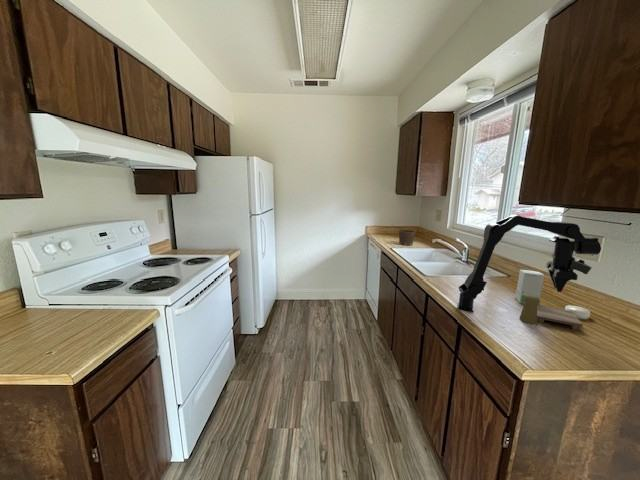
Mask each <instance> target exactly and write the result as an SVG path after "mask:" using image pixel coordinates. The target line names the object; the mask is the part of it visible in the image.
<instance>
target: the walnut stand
mask: <svg viewBox="0 0 640 480" xmlns="http://www.w3.org/2000/svg"><path fill="white" fill-rule="evenodd" d="M580 320H581V319H579V318H577V317H576V315H575V314H574V313H573V312H572V311H568V310H565V309H562V308H557V307H556V308H555V307H550V306H546V305H545V306H544V305H540V304H539V305H537V324H538V323H539V324H545V323H544V322H545V321H550V322H555V323H560V324H565V325H570V328H571V330H573V331H578V332H579V331H580V329H581V328H583V326H584V325H583V323H582V322H581V321H580Z"/></svg>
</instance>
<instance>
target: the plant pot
mask: <svg viewBox="0 0 640 480" xmlns="http://www.w3.org/2000/svg"><path fill="white" fill-rule="evenodd" d="M397 231H398V238H399V241H398V242H399V245H400V246H405V247H412V246H413V243H414V239H415V235H416V232H417V231H415V230H412V229H411V230H410V229H398V230H397Z"/></svg>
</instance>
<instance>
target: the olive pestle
mask: <svg viewBox="0 0 640 480" xmlns="http://www.w3.org/2000/svg"><path fill="white" fill-rule="evenodd" d="M524 302H525V304H524V303H523V307H522V310H521V313H520V315H519V318H518V319H519V321H521V322H523V323H525V324H529V325H537V324H538V322H537V305H540V303H541V300H539V298H537V297H535V296H531V295H527V296H525V297H524Z"/></svg>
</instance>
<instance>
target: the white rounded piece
mask: <svg viewBox="0 0 640 480" xmlns="http://www.w3.org/2000/svg"><path fill="white" fill-rule="evenodd" d="M564 307H565V308H564V310H568V311H572V312H573V313H574V314H575V315H576V317H577V318H578V319H579V320H589V319H590V315H591V311H590V310H589V309H586V308H584V307H580V306H578V305H577V306H576V305H569V304H568V305H565V306H564Z"/></svg>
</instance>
